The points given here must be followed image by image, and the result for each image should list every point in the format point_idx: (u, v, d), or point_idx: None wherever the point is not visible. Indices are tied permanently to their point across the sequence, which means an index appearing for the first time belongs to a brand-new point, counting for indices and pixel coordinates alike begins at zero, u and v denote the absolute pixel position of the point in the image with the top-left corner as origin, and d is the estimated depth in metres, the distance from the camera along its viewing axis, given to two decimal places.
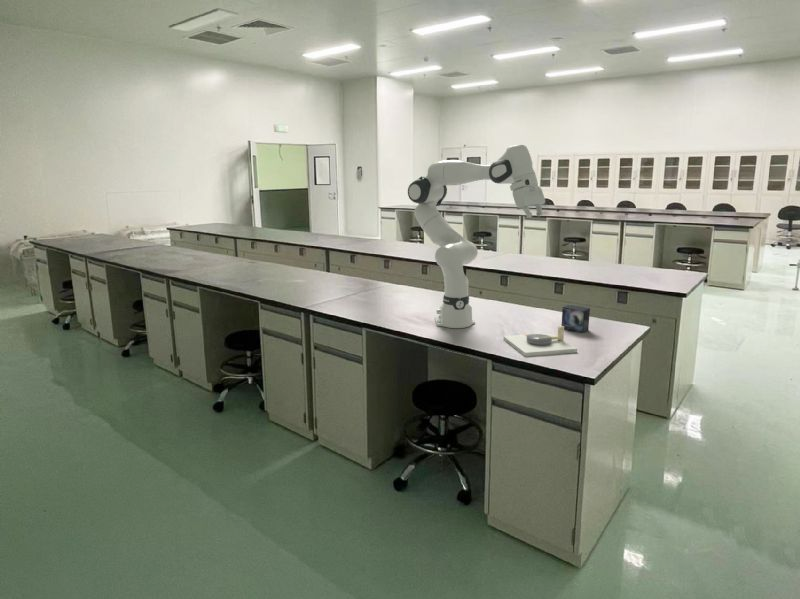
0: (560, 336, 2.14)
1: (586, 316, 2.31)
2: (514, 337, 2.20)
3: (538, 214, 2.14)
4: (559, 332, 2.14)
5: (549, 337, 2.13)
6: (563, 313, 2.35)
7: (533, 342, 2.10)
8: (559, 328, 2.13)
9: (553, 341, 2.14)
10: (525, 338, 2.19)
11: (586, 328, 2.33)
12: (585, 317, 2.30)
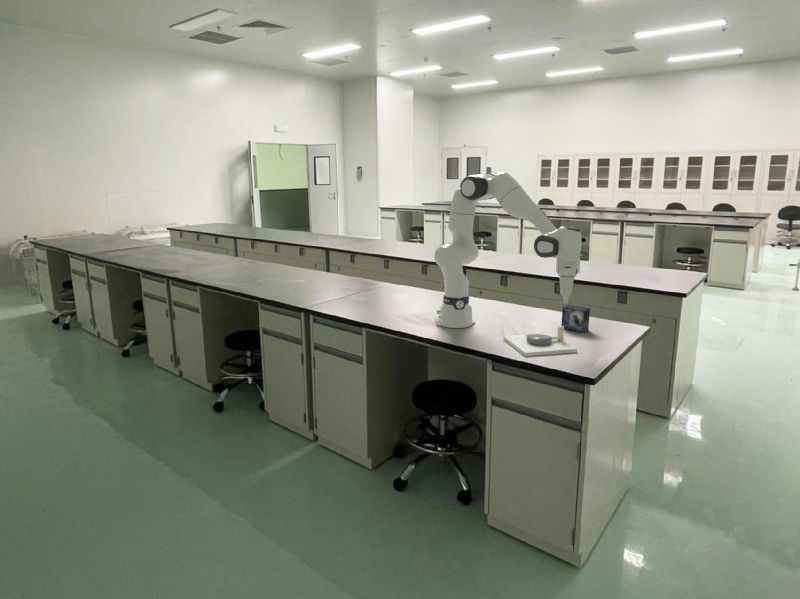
0: (560, 336, 2.14)
1: (586, 316, 2.31)
2: (514, 337, 2.20)
3: None
4: (559, 332, 2.14)
5: (549, 337, 2.13)
6: (563, 313, 2.35)
7: (533, 342, 2.10)
8: (559, 328, 2.13)
9: (553, 341, 2.14)
10: (525, 338, 2.19)
11: (586, 328, 2.33)
12: (585, 317, 2.30)
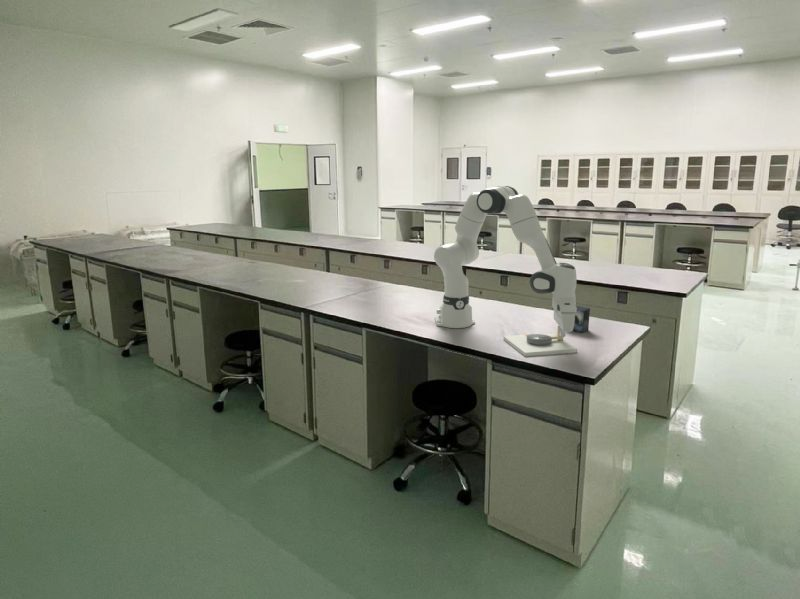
0: (560, 336, 2.14)
1: (586, 316, 2.31)
2: (514, 337, 2.20)
3: None
4: (559, 332, 2.14)
5: (549, 337, 2.13)
6: None
7: (533, 342, 2.10)
8: None
9: (553, 341, 2.14)
10: (525, 338, 2.19)
11: (586, 328, 2.33)
12: (585, 317, 2.30)
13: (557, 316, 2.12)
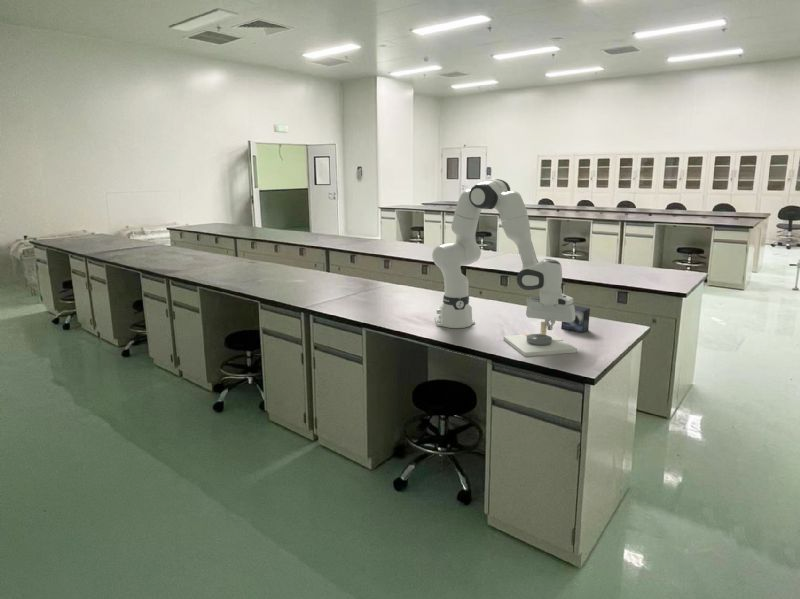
0: (545, 331, 2.21)
1: (586, 316, 2.31)
2: (514, 337, 2.20)
3: (551, 328, 2.19)
4: (544, 328, 2.20)
5: (543, 335, 2.16)
6: None
7: (545, 343, 2.09)
8: (544, 324, 2.20)
9: (553, 341, 2.14)
10: (525, 338, 2.19)
11: (586, 328, 2.33)
12: (585, 317, 2.30)
13: (543, 312, 2.18)
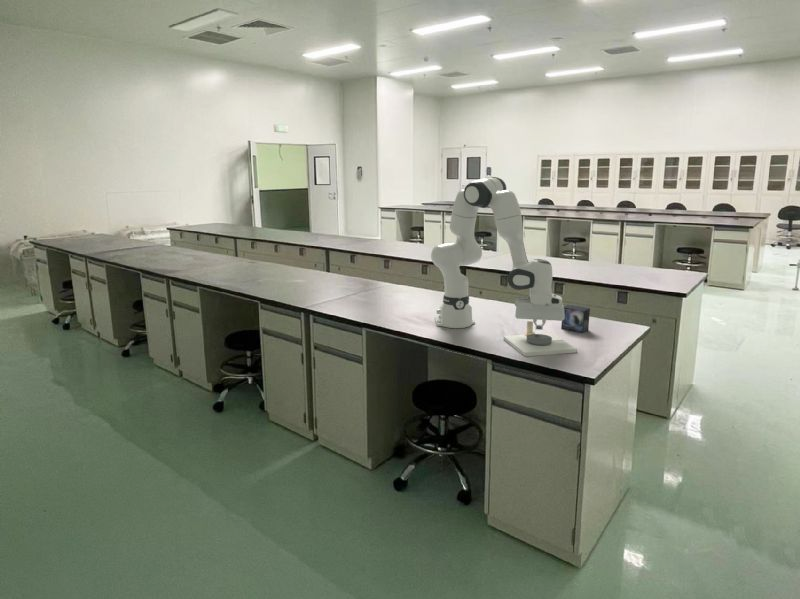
0: (532, 330, 2.22)
1: (586, 316, 2.31)
2: (514, 337, 2.20)
3: None
4: (532, 327, 2.21)
5: (536, 334, 2.17)
6: None
7: (550, 341, 2.10)
8: (532, 323, 2.21)
9: (553, 341, 2.14)
10: (525, 338, 2.19)
11: (586, 328, 2.33)
12: (585, 317, 2.30)
13: (534, 312, 2.18)
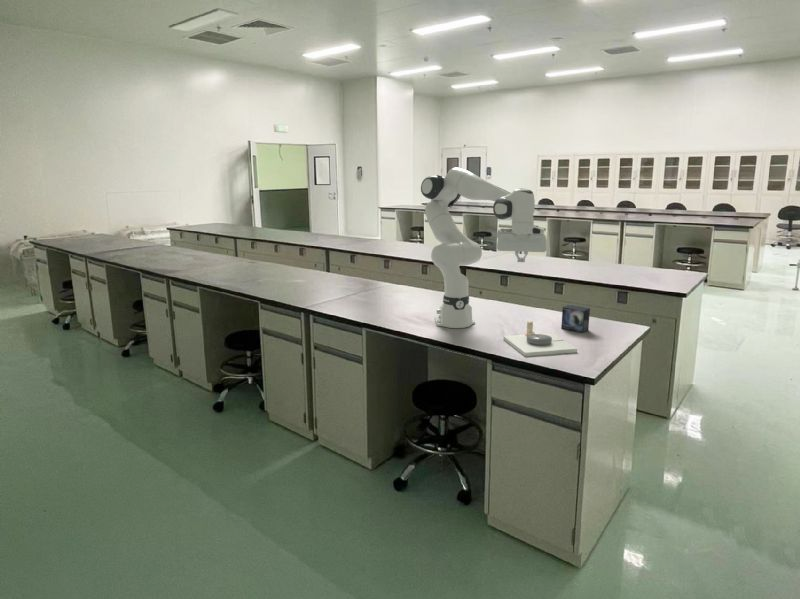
0: (532, 330, 2.22)
1: (586, 316, 2.31)
2: (514, 337, 2.20)
3: None
4: (532, 327, 2.21)
5: (536, 334, 2.17)
6: (563, 313, 2.35)
7: (550, 341, 2.10)
8: (532, 323, 2.21)
9: (553, 341, 2.14)
10: (525, 338, 2.19)
11: (586, 328, 2.33)
12: (585, 317, 2.30)
13: (516, 243, 2.14)
